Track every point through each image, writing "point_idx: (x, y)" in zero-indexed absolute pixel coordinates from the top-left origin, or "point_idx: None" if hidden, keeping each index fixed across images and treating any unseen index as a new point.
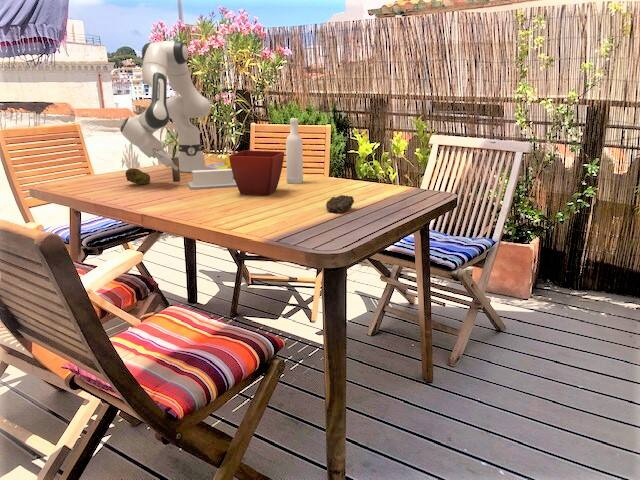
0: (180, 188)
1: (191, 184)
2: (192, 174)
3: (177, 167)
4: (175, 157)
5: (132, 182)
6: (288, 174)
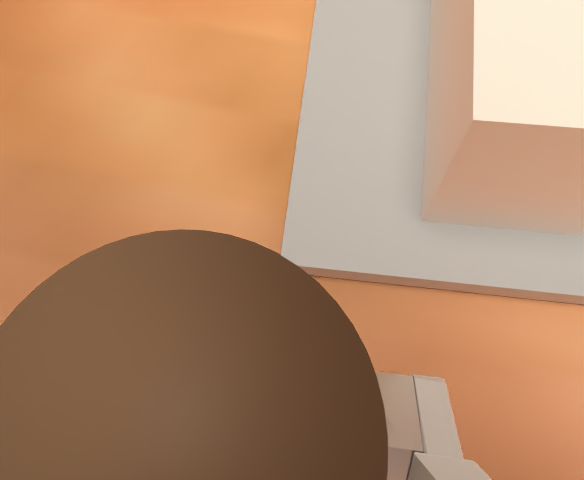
0: (565, 430)
1: (484, 248)
2: (537, 159)
3: (445, 407)
4: (144, 385)
5: None
6: None
